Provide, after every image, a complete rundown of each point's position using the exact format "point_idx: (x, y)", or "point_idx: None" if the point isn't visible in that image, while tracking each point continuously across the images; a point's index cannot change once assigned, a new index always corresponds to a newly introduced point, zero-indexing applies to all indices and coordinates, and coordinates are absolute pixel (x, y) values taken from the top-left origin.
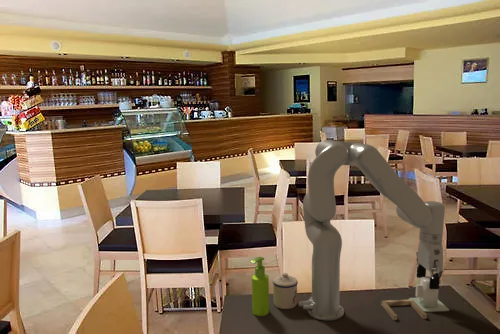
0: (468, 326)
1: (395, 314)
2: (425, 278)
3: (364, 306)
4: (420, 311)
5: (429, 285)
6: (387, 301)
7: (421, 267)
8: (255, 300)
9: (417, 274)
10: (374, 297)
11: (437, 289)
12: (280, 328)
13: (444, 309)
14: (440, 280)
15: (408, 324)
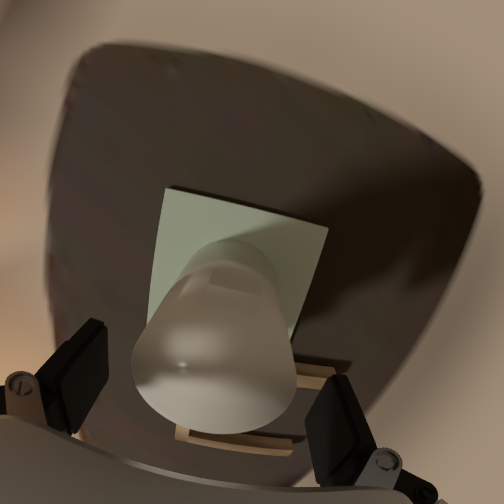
0: (448, 255)
1: (283, 450)
2: (174, 394)
3: (180, 457)
4: (306, 387)
5: (311, 438)
6: (184, 430)
7: (62, 416)
8: None
9: (95, 393)
10: (121, 412)
11: (286, 324)
12: None
13: (316, 252)
14: (248, 294)
15: None
